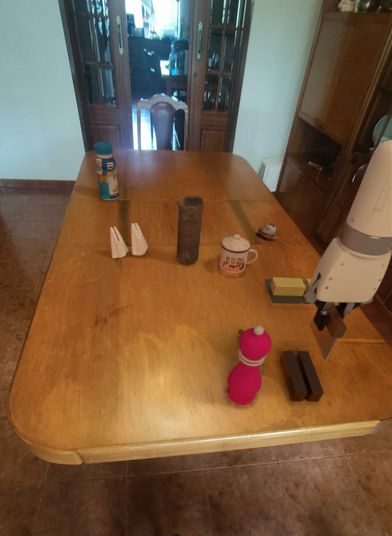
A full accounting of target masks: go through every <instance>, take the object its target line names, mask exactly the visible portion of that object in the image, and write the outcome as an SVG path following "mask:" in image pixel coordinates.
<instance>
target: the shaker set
mask: <svg viewBox="0 0 392 536" xmlns="http://www.w3.org/2000/svg"><path fill="white" fill-rule="evenodd" d="M109 235H110V236H109V237H110V239H109V240H110V248H111V249H110V250H111V257H112V259H118V258H119V259H121V258H124V257H125V256H126V255H127V253H128V252H129V249H128V246H127V244H126V243H125V240H124V239H123V237H122V235H121V233H120V231H119V230H118V229H117V227H116V226H113V227H112V226H111V227H110V228H109ZM130 236H131V237H130V238H131V253H132V254H131V255H133V256H138V257H143V256H144V255H146V252H147V250H148V249H149V245H148V243H147V241H146V238H145V236H144V234H143V233H142V230H141V227H140V226H139V224H138V222H134V223H133V222H132V223H131V225H130Z"/></svg>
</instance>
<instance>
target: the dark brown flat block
mask: <svg viewBox="0 0 392 536" xmlns="http://www.w3.org/2000/svg"><path fill="white" fill-rule="evenodd" d="M335 305H336V304H335V302H333V304H332V306H331V308H330V310H329V312H328V314H329V318H328V320H327V322H326V325H325V327H324V329H323V330H322V331H318V328H317V326H316V325H315V323H314V317H315V315H316V313H317V310H318V308H317V307H316V311H315V313H314V315H313V317H312V319H311V322H310V324H309V326H310V329H311V331H312V334H313V336H314V338H315V340H316V343H317V345H318V347H319V350H320V353H321V355H322V357H323V360H324V361H327V359H328V357H329V356H330V354H331V351H332V349H333V348H334V346H335V344H336V342H337V340H338V339H343V337H344V335H345V333H347V331H348V327H347V325H346V323H345V322H344V319H342V318H341V316H340V314H339V312H338V310H337V308H336V306H335Z"/></svg>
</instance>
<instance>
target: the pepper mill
mask: <svg viewBox="0 0 392 536" xmlns="http://www.w3.org/2000/svg"><path fill="white" fill-rule="evenodd" d="M239 336H240V335H239ZM272 346H273V342H272V337H271V335H270V334H269V332H267V331H266V330H265V329H264V327H263V325H260V324H259V325H256V326H254V327H250V328H247V329H246V330H244V332H243V333H242V334H241V336H240V338H239V339H238V348H239V350H238V359H239V360H238V363H237V364H236V365H234V366H233V367H232V368H231V369H230V370H229V372H228V375H227V378H226V384H227V388H226V395H227V397H228V399H229V400H230V401H231V402H233V403H234V404H236V405H239V406H240V405H241V406H246V405H250V404H252V403H253V402H254V400H255V398H256V395H258V393H259V392H260V390H261V388H262V383H263V377H262V374H261V371H260V364H263V363H264V362H265V358H266V356H267V355H268V354H269V353H270V352H271V350H272Z"/></svg>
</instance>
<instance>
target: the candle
mask: <svg viewBox="0 0 392 536" xmlns="http://www.w3.org/2000/svg"><path fill="white" fill-rule="evenodd" d="M203 210H204V199H203V197H200V196H199V195H198V196H197V195H193V194H192V195H186V196H184V197H181V198H179V200H178V217H177V218H178V220H177V235H176V236H177V237H176V238H177V240H176V254H175V255H176V260H178V261H179V262H180V263H181V264H193V263H194V264H195V263H196V262H197V261H198V260H199V255H200V254H199V253H200V244H201V232H202V231H201V230H202V222H203V221H202V220H203V212H204V211H203Z"/></svg>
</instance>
